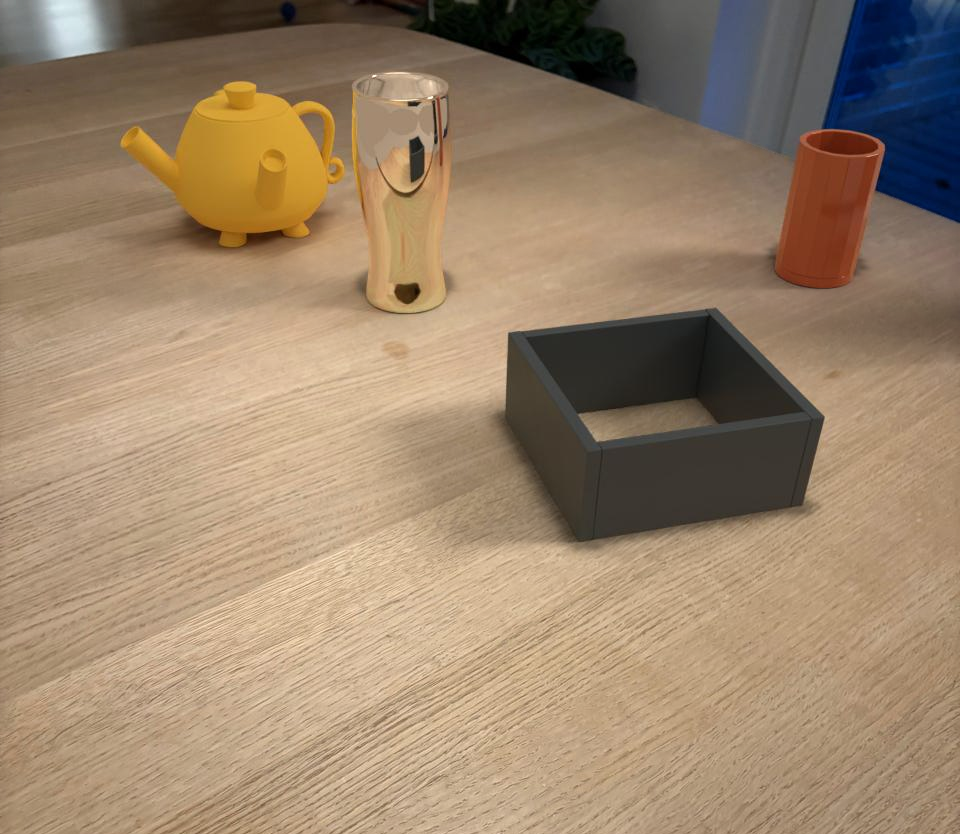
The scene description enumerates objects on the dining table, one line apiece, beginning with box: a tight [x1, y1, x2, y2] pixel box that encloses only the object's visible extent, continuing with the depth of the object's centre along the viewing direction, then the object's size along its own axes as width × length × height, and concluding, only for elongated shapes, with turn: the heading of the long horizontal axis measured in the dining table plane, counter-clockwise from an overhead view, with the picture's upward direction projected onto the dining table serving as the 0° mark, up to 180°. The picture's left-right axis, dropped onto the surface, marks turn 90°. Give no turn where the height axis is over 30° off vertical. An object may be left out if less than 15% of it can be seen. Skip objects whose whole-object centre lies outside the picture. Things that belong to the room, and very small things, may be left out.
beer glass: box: [351, 71, 453, 314], centre depth 81 cm, size 7×7×15 cm
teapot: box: [120, 80, 345, 248], centre depth 91 cm, size 14×14×11 cm
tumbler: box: [774, 128, 886, 289], centre depth 87 cm, size 6×6×10 cm
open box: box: [504, 307, 826, 543], centre depth 66 cm, size 14×14×7 cm
